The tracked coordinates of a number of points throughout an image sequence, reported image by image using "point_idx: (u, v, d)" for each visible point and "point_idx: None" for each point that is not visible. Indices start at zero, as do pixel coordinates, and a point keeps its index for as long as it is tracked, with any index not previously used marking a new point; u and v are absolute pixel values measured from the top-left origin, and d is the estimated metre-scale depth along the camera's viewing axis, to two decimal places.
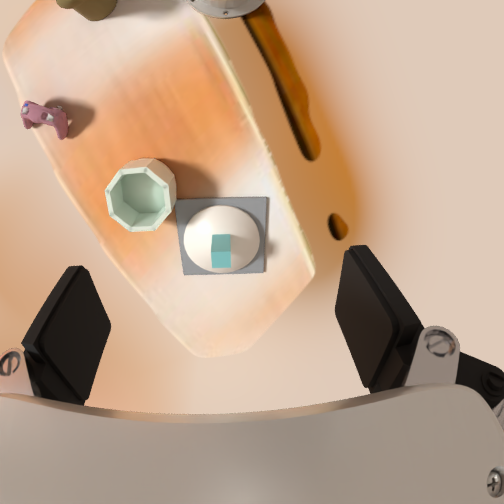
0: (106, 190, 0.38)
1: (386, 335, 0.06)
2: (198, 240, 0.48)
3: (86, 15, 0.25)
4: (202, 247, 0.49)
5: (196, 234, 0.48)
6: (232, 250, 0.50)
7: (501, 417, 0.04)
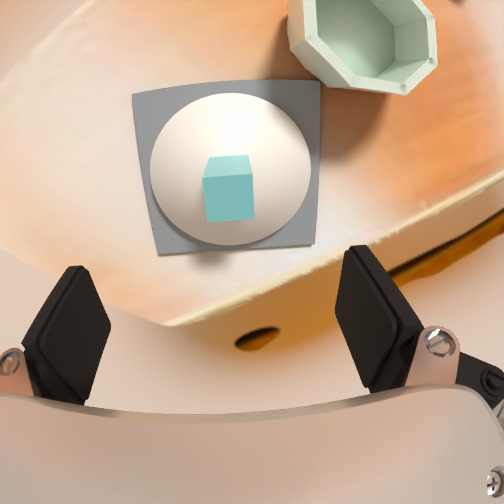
0: None
1: (386, 335, 0.06)
2: (231, 125, 0.20)
3: None
4: (214, 133, 0.20)
5: (248, 121, 0.20)
6: None
7: (501, 417, 0.04)
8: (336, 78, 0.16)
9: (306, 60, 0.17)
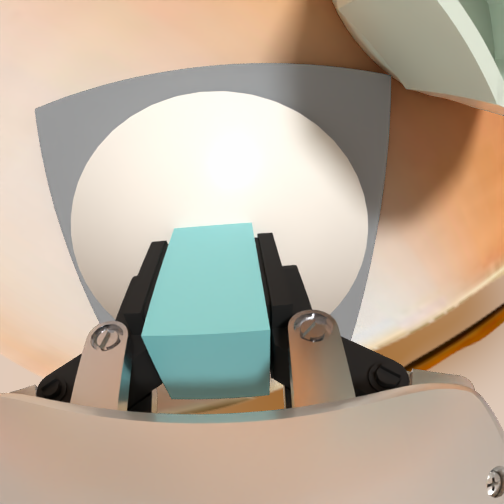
0: None
1: None
2: (217, 164, 0.10)
3: None
4: (180, 181, 0.10)
5: (251, 153, 0.10)
6: None
7: None
8: (456, 76, 0.05)
9: (378, 29, 0.07)
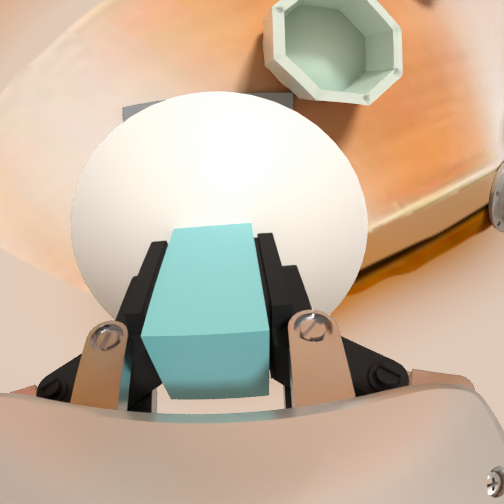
0: None
1: None
2: (216, 164, 0.10)
3: None
4: (180, 182, 0.10)
5: (251, 153, 0.10)
6: None
7: None
8: (304, 92, 0.18)
9: (278, 75, 0.19)
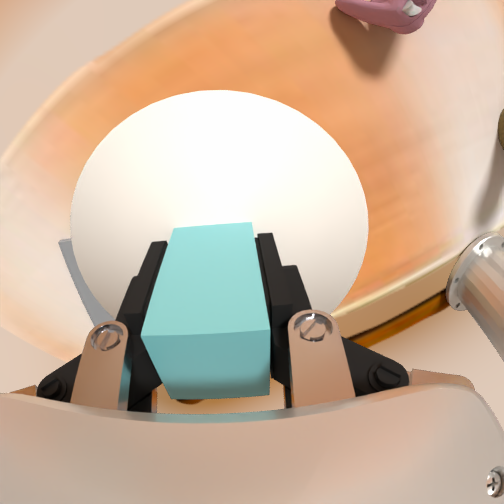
0: None
1: None
2: (217, 163, 0.10)
3: None
4: (180, 181, 0.10)
5: (251, 152, 0.10)
6: None
7: None
8: None
9: None
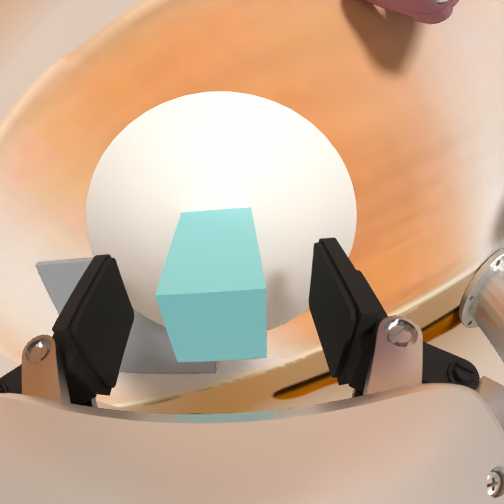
0: None
1: (346, 323, 0.07)
2: (220, 155, 0.11)
3: None
4: (188, 170, 0.11)
5: (251, 145, 0.11)
6: None
7: None
8: None
9: None
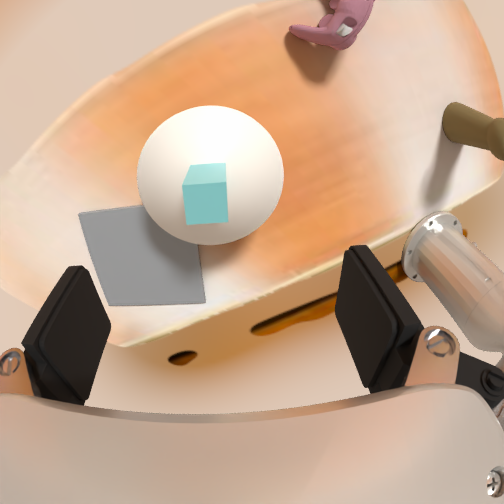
0: None
1: (386, 335, 0.06)
2: (211, 136, 0.22)
3: (460, 118, 0.25)
4: (195, 143, 0.22)
5: (225, 132, 0.22)
6: None
7: (501, 417, 0.04)
8: None
9: None
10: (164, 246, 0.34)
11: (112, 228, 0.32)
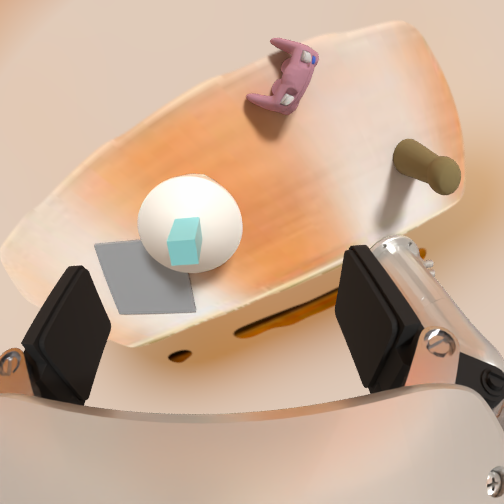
0: None
1: (386, 335, 0.06)
2: (187, 199, 0.32)
3: (407, 156, 0.35)
4: (176, 204, 0.32)
5: (197, 195, 0.32)
6: None
7: (501, 417, 0.04)
8: None
9: None
10: (161, 269, 0.45)
11: (121, 256, 0.43)
